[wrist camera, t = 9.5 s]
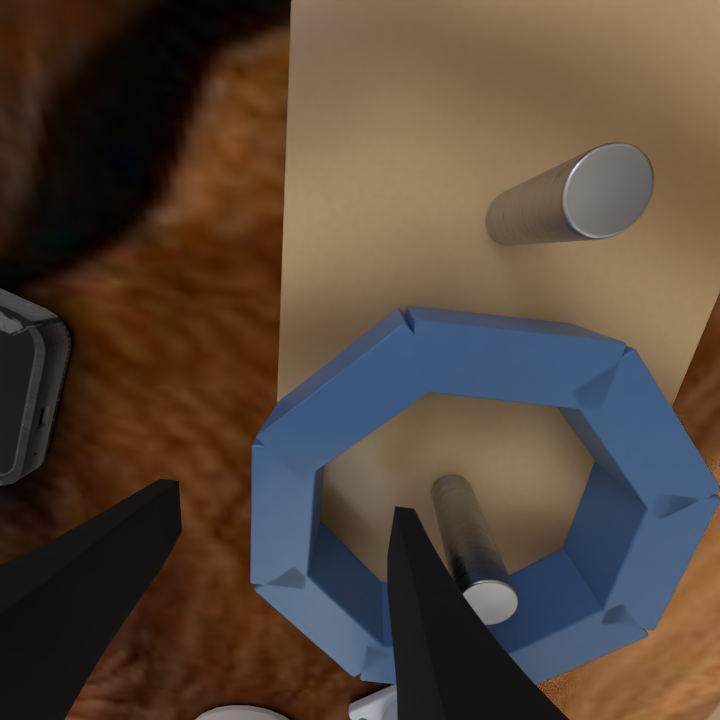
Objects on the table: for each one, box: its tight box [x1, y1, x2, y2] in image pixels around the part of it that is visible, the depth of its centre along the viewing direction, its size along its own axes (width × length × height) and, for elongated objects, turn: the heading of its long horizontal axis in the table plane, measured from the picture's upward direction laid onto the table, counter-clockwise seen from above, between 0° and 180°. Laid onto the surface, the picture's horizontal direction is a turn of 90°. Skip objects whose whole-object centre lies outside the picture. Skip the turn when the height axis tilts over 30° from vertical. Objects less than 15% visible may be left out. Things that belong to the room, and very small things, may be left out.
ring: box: [250, 306, 720, 685], centre depth 12 cm, size 14×14×3 cm
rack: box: [277, 0, 720, 625], centre depth 10 cm, size 22×14×6 cm, turn 174°
